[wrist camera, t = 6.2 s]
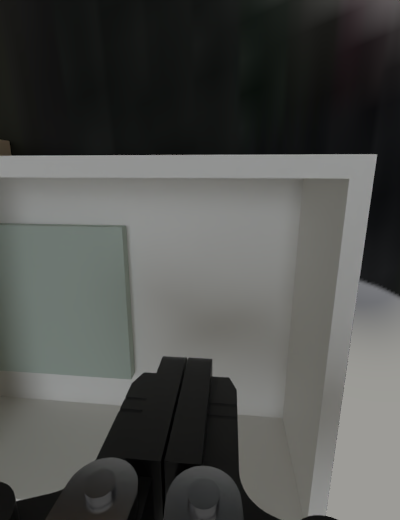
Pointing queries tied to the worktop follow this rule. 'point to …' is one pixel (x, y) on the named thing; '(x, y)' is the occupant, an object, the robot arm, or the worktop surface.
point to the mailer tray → (179, 304)
